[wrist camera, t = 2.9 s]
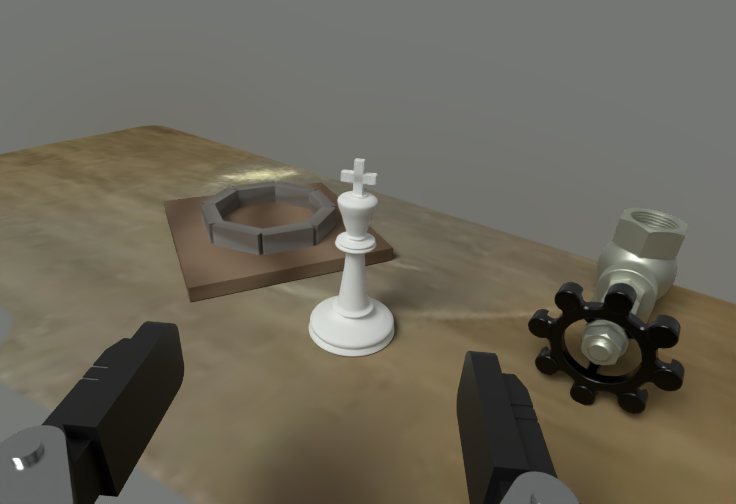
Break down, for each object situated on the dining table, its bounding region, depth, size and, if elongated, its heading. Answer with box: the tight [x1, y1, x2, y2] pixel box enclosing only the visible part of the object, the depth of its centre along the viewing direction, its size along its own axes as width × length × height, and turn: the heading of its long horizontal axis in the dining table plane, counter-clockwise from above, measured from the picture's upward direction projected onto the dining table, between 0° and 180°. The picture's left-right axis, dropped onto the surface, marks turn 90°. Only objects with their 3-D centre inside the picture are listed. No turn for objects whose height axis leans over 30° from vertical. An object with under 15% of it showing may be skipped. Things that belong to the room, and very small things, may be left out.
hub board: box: [164, 182, 393, 302], centre depth 35 cm, size 14×14×2 cm
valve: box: [528, 208, 688, 414], centre depth 25 cm, size 7×7×12 cm
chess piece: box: [309, 159, 394, 357], centre depth 24 cm, size 5×5×10 cm
